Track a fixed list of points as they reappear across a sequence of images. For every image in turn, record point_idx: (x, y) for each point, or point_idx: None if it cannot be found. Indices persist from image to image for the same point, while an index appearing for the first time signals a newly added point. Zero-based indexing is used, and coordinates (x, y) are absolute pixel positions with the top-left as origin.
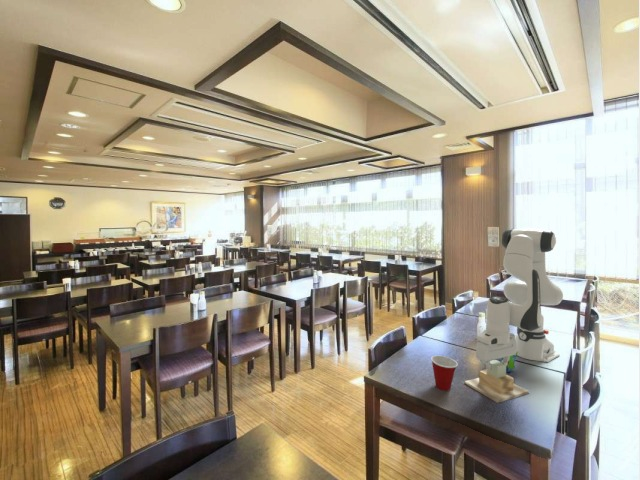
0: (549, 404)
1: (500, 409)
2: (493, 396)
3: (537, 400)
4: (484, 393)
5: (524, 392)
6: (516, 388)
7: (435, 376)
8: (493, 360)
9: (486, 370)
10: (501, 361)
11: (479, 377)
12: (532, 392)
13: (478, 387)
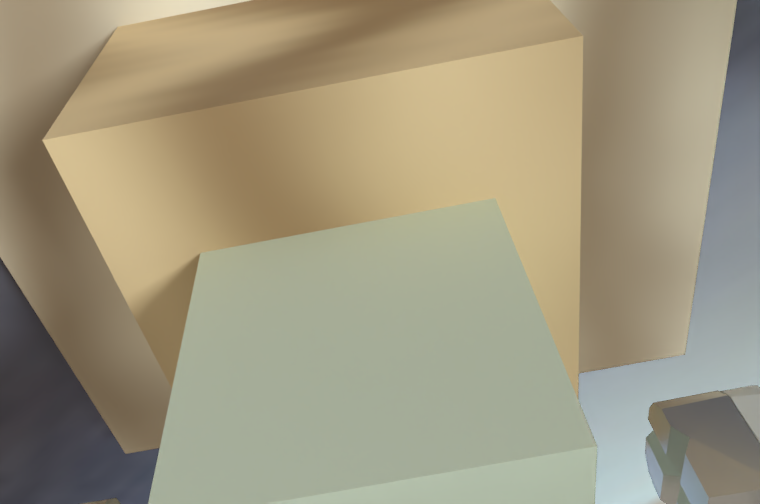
0: (646, 482)
1: (95, 500)
2: (124, 393)
3: (611, 432)
4: (42, 312)
5: (601, 368)
6: (599, 291)
7: None
8: (458, 480)
9: (276, 145)
10: (703, 482)
11: (92, 76)
12: (738, 321)
13: (9, 187)
